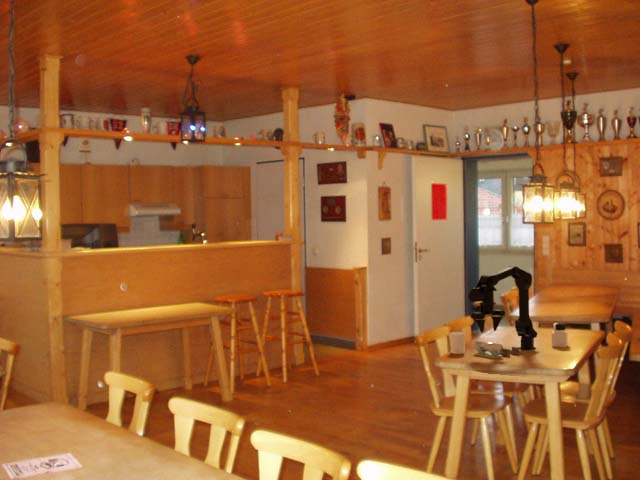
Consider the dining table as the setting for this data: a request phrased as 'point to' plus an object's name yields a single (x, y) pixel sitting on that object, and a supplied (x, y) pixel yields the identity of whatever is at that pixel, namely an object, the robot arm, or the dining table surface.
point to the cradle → (487, 353)
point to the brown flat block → (510, 351)
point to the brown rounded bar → (489, 346)
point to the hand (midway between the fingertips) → (488, 331)
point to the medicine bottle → (559, 335)
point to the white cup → (457, 342)
